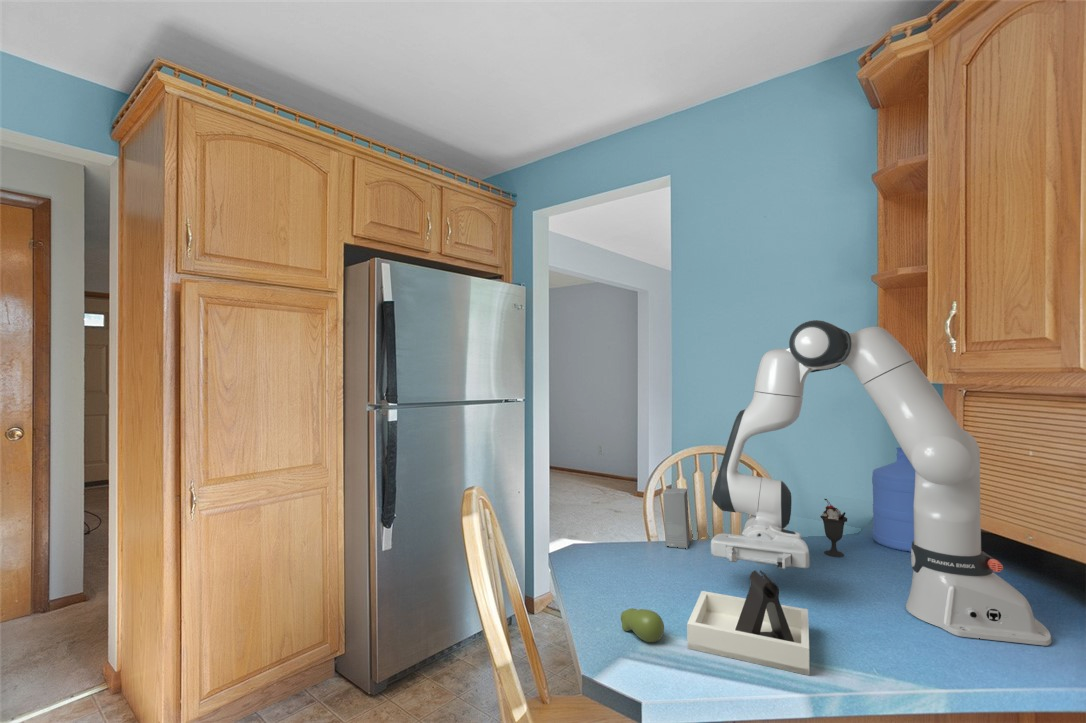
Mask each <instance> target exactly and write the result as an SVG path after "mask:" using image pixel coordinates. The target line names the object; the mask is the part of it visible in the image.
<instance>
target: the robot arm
mask: <svg viewBox="0 0 1086 723" xmlns="http://www.w3.org/2000/svg"><path fill="white" fill-rule="evenodd" d="M788 346H789V347H788V348H775V349H771V350H769V351H766V352H765V353H764V354H763V355H762V357H761V360H760V363H759V366H758V369H757V373H756V377H755V382H754V388H753V389H754V390H753V396H752V398H751V401H750V403H749V404H748V406H747V407H746V409H742V410H740V411H739V412H738V413H737V416H736V417H735V419H734V421H733V425H732V429H731V430H730V434H729V438H728V441H727V444H726V446H725V450H724V453H723V458H722V461H721V464H720V467H719V470H718V473H717V475H716V476H715V478H714V481H713V484H712V487H711V499H712V501H713V502H714V504H715V505H716V506H717V508H719V509H720V510H721V511H723V512H728V513H729V512H730V513H739V514H745V515H749V517H748V518H747V520H746V521H745V524H744V527H743V530H742V532H741V534H733V533H718V534H716V535H715V536H713V537H712V539H710V553H711V555H712V556H714V557H717V558H723V559H727V560H729V562H730V563H737V562H738V560H741V561H746V562H752V563H753V562H754V563H757V564H762V565H763V564H764V565H767V564H768V565H777V569H780V570H781V569H782V570H786V567H787V568H788V567H790V568H791V567H792V568H798V569H799V568H800V569H808V568H810V550H809V547H808V544H807V543H806V541H805V540H803V536H802V534H801V533H800V532H796V531H793V530H788V529H785V528H786V527H787V526H788V525H789V524H790V521H791V515H792V493H791V490H790V488H789V487H788V485H787V484H786V483H785V482H784V481H782V480H778V479H773V478H770V477H768V478H767V477H763V476H762V477H760V476H754V475H750V474H746V473H745V474H744V473H741V472H739V471H738V466H739V463H740V461H741V458H742V457H741V456H742V453H743V451H744V448H745V444H746V443H747V441H748V440H749V439H750V438H752V437H754V436H756V435H759V434H760V435H761V434H764V433H769V432H773V431H774V432H775V431H779V430H782V429H785V428H787V427H789V426H791V425H793V424H794V423H795V422H796V421H797V420H798V418H799V417H800V414H801V410H802V405H803V396H804V386H805V382H806V378H807V377H808V375H809V374H810V373H815V372H820V371H827V370H833V369H835V368H838V367H839V366H841V365H844V366H845V367H847V368H849V369H850V370H851V371H852V372H853V373H854V375H855V376H856V377H857V379H858V380H859V382H860V383H861V385H862V387H863V388H864V389H865V391H866V393H868V395H869V397H870V398H871V400H872V401H873V402H874V404H875V405H876V407H877V408H878V410H879V411H880V412H881V414H882V416H883V417H884V419H885V421H886V423H887V425H888V426H889V429H890V431H891V432H892V434H893V436H894V438H895V440H896V441H897V443H898V444H899V446H900V448H902V450H903V451H904V453H905V455H906V456H907V458H908V460H909V461H910V463H911V465H912V466H913V468H914V469H915V493H914V541H913V542H912V548H911V552H910V561H911V562H910V563H911V564H910V565H911V567H912V569H913V571H912V578H911V579H912V580H911V585H910V590H909V591H910V592H909V594H908V599H907V601H906V604H905V608H906V611H907V612H908V613H910V614H911V616H914V617H915V618H918V619H919V620H920V621H922V622H926V623H928V624H931V625H933V626H936V627H938V628H941V629H943V630H944V631H946V632H947V633H948V632H949V633H950V634H952V635H954V636H957V637H962V638H963V637H964V638H969V639H970V638H971V639H979V638H980V640H981V639H982V640H991V641H998V642H1000V641H1001V642H1008V643H1017V644H1018V643H1019V644H1027V645H1036V646H1037V645H1038V646H1043V647H1044V646H1050V645H1051V644H1052V642H1053V640H1052V635H1051V633H1050V631H1049V629H1048V628H1047V627H1046V626H1045V625H1044V624H1043V623H1042V622H1041V621H1039V620H1038V619H1036V618H1035V616H1034V612H1033V608H1032V607H1031V606H1032V605H1031V604H1030V602H1029V601H1028V599H1027V598H1026V597H1025V596H1024V595H1023V594H1022V593H1021V592H1020V591H1018V590H1017V589H1016V588H1015V587H1014V586H1012V585H1011V584H1010V583H1009V582H1007V581H1006V580H1005V579H1003V578H1002V577H1000V576H999V575H998V574H996V573H1001V572H1002V571H1003V570H1004V566H1003V564H1002V563H1001V562H1000V561H999V560H998V559H995V558H994V557H993V556H991V555H989V554H987V553H986V552H984V551H982V528H981V527H982V526H981V521H982V520H981V519H982V518H981V450H980V447H979V446H980V445H979V444H978V441H977V440H976V439H975V437H974V436H973V435H972V434H971V433H970V432H968V431H967V430H965V429H964V428H962V427H961V426H960V424H959V423H958V421H957V420H956V419H955V417H954V416H953V414H952V412H951V411H950V410H949V408H948V406H947V405H946V403H945V402H944V400H943V399H942V397H941V395H940V394H939V392H938V391H937V389H936V388H935V386H934V385H933V383H932V382H931V381H930V380H929V378H928V377H927V376H926V374H925V373H924V372H923V371H922V369H921V367H920V366H919V365H918V364H917V362H916V361H915V360H914V358H913V357H912V355H911V354H910V352H908V350H907V349H906V348H905V347H904V346H903V345H902V344H901V343H900V342H899V340H897V339H896V337H894V336H893V334H891V333H890V332H889V331H888V330H886V328H884V327H881V326H868V327H864V328H861V329H859V330H857V331H854V332H851V333H850V332H849V331H847V330H845V329H842V328H840V327H838V326H836V325H835V324H833V323H830V322H828V321H824V320H814V319H813V320H808V321H805V322H803V323H801V324H800V325H798V326H797V327H796V328H794V330H792V332H791V334H790V337H789V342H788Z"/></svg>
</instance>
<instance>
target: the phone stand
mask: <svg viewBox="0 0 1086 723" xmlns="http://www.w3.org/2000/svg"><path fill="white" fill-rule="evenodd" d="M749 581H750V582H749V583H750V584H749V589H748V592H747V595H746V600H745V603H744V606H743V609H742V612H741V614H740V617H739V620H738V623H737V626H736V629H735V630H736V631H741V632H746V633H751V634H756V635H761V636H766V637H771V638H775V639H780V640H785V641H790V642H794V639H793V637H792V634H791V631H790V629H789V626H788V623H787V620H786V618H785V615H784V612H783V610H782V607H781V605H782V604H781V602H780V598H779V595H780V588H779V586H778V584H776V582H774V581H773V580H772V579H771V578H770V577H769V576H768V575H767V574H766V573H765V572H764V571H763V570H761V569H760V570H759V572H758V571H757V570H753V571H751V573H750V575H749ZM766 609H767V613H768V616H769V620H770V624H771V627H772V632H760V631H761V627H762V623H763V619H764V615H765V611H766Z"/></svg>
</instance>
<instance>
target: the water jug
mask: <svg viewBox="0 0 1086 723" xmlns="http://www.w3.org/2000/svg"><path fill="white" fill-rule="evenodd" d="M871 484H872V518H873V520H872V525H873V527H872V528H873V529H872V538H873V541H875V543H877V544H879V545H881V546H883V547H887V548H889V549H892V550H896V549H897V550H896V551H901V550H902V552H907V551H909V552H908V553H911V548H912V542H913V541H914V493H915V469H914V468H913V466H912V465H911V463H910V461H909V460H908V458H907V456H906V455H905V453H904V451H903V450H902V448H901V447H896V461H894V462H892V463H890V464H885V465H883V466H880V467H876V468H874V469H873V470H872V476H871Z"/></svg>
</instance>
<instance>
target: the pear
mask: <svg viewBox="0 0 1086 723" xmlns="http://www.w3.org/2000/svg"><path fill="white" fill-rule="evenodd" d="M620 621H621V628H622V630H623V631H626V632H627V631H632V632H633V633H634V634H635V635H636V636H637V637H638V638H639V639H641V640H642V641H644V642H645V643H655V642H658V641H659V640H661V639H662V638H663V635H664V632H665V623H664V621H663V618H662V616H660V615H659V614H658V613H657V612H655V611H653V610H650V609H645V608H644V609H643V608H641V609H640V608H639V609H637V608H628V609H626V610H624V611H622V612H621V613H620Z"/></svg>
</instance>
